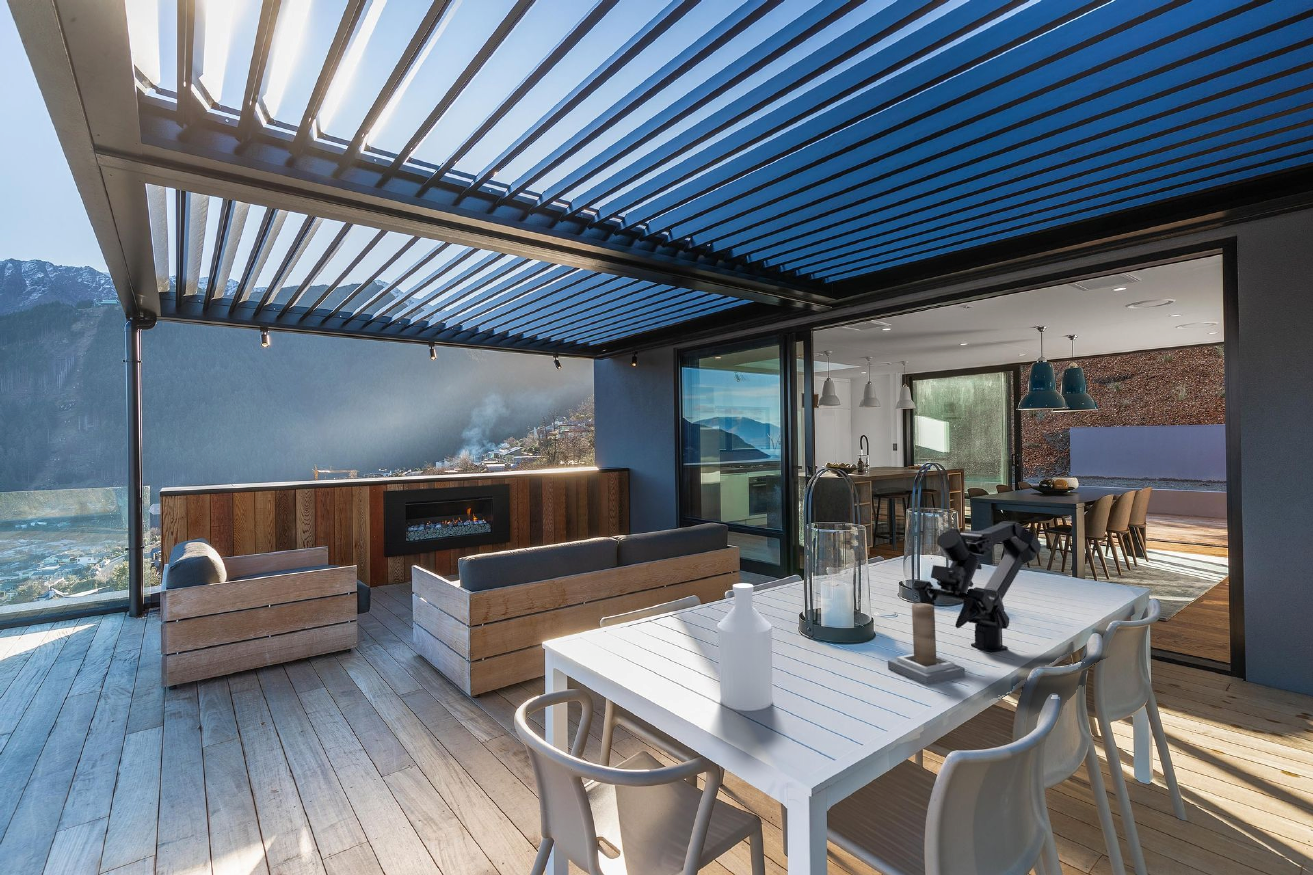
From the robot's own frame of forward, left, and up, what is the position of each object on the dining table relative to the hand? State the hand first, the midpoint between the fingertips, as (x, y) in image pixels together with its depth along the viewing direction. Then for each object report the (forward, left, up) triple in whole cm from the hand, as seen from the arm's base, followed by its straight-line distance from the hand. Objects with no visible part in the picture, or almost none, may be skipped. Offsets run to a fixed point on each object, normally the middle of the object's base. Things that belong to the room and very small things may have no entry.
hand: (938, 623), depth 151 cm
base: (+6, +2, -11) cm, 12 cm away
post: (+6, +1, -9) cm, 11 cm away
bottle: (+53, -3, -11) cm, 55 cm away
